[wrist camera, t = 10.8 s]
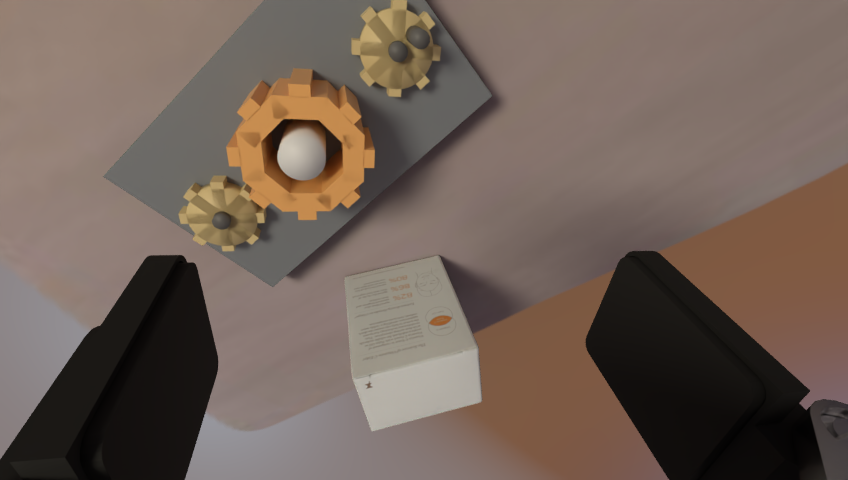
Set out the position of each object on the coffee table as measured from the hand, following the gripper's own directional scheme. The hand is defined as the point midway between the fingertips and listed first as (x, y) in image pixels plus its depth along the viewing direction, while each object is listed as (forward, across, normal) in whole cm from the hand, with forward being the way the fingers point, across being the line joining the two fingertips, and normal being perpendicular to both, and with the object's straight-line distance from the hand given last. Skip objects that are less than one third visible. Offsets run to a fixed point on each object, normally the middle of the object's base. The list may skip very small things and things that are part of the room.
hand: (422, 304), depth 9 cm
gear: (+18, +4, +2) cm, 19 cm away
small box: (+20, -3, +16) cm, 26 cm away
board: (+20, +4, +2) cm, 21 cm away
